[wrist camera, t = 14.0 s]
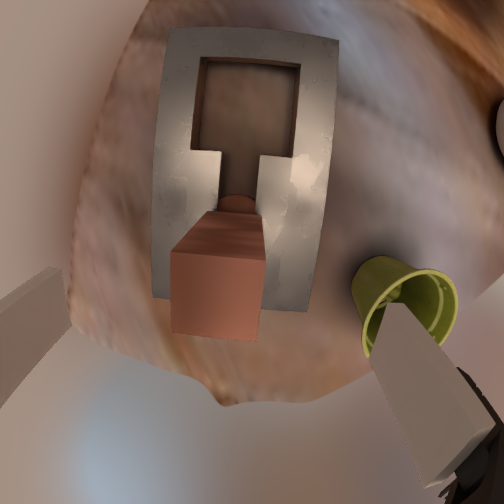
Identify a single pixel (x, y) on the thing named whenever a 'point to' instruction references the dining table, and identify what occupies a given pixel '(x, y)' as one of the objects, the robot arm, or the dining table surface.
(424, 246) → the dining table surface
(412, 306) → the plant pot
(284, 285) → the slot bracket
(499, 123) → the teacup
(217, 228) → the peg
